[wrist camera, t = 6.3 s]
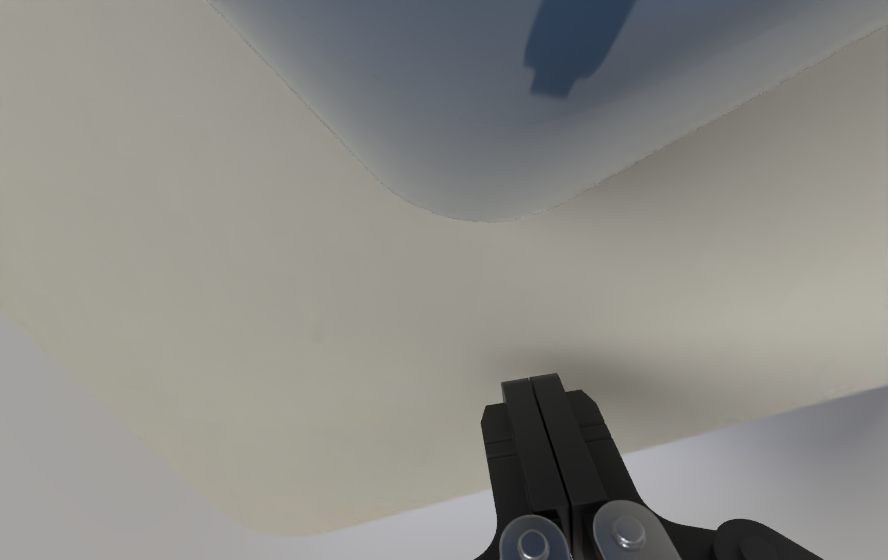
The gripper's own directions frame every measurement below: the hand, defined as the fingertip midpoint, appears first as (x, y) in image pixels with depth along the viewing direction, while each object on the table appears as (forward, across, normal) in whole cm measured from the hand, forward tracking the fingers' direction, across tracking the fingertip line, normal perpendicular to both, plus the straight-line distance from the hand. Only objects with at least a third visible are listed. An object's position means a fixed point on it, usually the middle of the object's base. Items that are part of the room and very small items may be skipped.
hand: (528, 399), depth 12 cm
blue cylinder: (+1, 0, -12) cm, 12 cm away
